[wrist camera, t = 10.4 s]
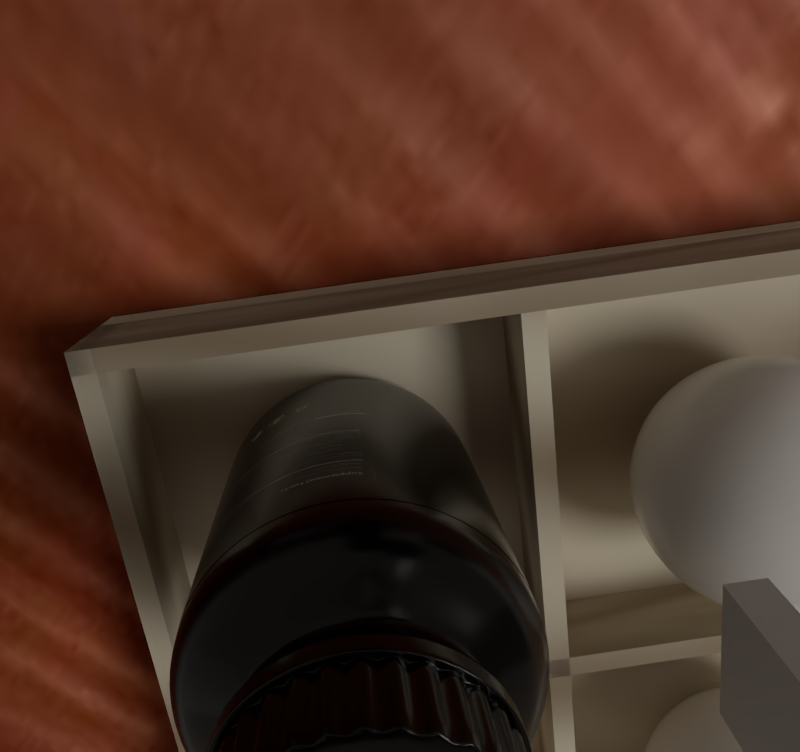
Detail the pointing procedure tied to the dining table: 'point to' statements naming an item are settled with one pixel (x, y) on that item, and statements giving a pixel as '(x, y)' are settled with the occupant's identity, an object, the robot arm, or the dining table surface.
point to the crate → (464, 434)
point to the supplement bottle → (357, 592)
